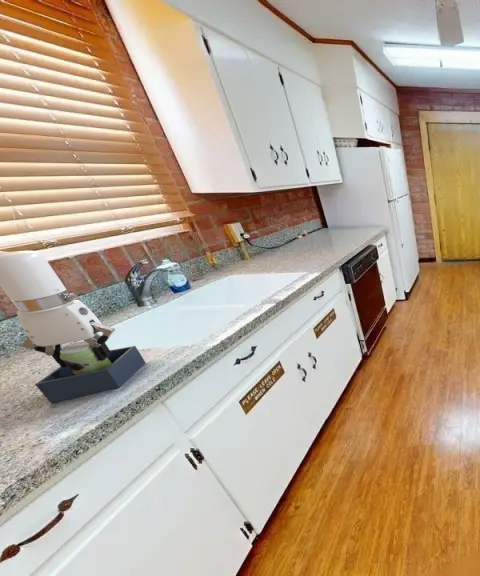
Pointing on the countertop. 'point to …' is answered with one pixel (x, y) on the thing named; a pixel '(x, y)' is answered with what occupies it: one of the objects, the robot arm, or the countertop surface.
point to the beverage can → (82, 358)
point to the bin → (92, 377)
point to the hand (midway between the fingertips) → (87, 360)
